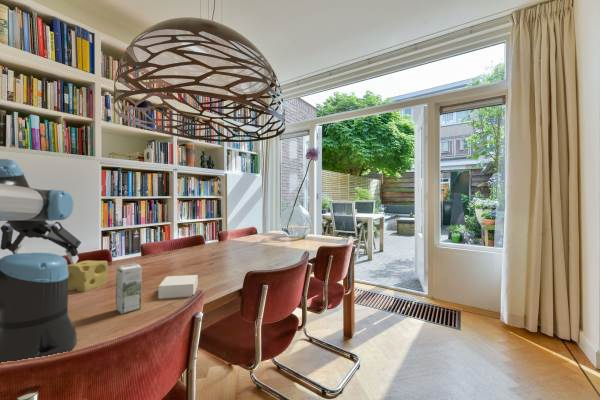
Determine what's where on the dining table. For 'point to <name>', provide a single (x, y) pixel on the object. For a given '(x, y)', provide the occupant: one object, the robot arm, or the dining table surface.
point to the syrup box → (128, 288)
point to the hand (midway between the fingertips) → (51, 262)
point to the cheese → (87, 275)
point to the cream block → (178, 286)
